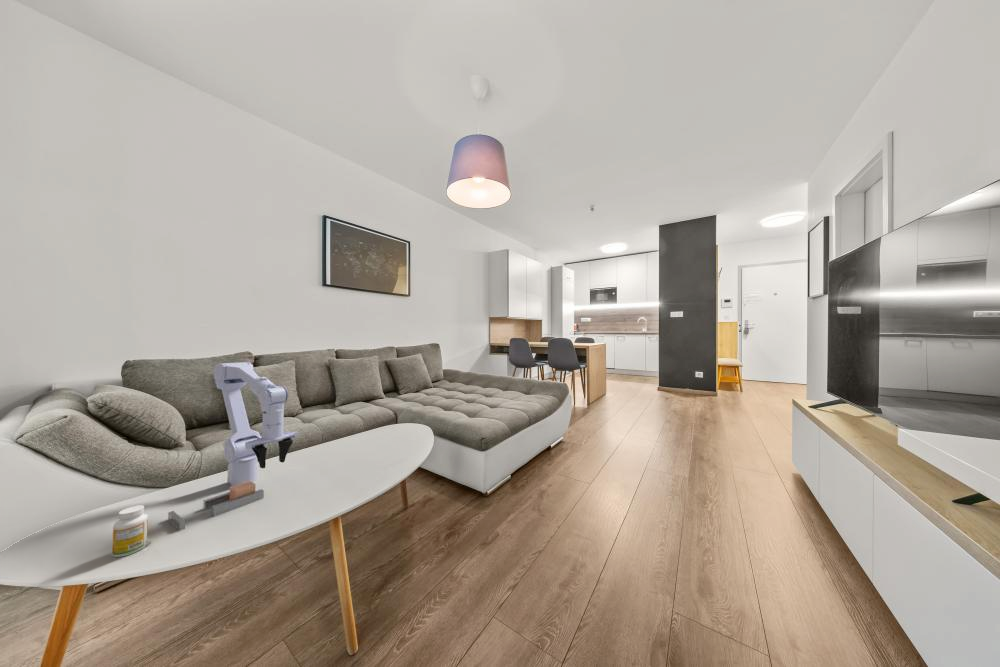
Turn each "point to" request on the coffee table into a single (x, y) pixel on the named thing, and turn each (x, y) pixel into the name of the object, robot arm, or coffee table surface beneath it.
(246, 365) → the robot arm
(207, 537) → the coffee table surface
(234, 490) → the block
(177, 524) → the chute
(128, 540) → the supplement bottle
